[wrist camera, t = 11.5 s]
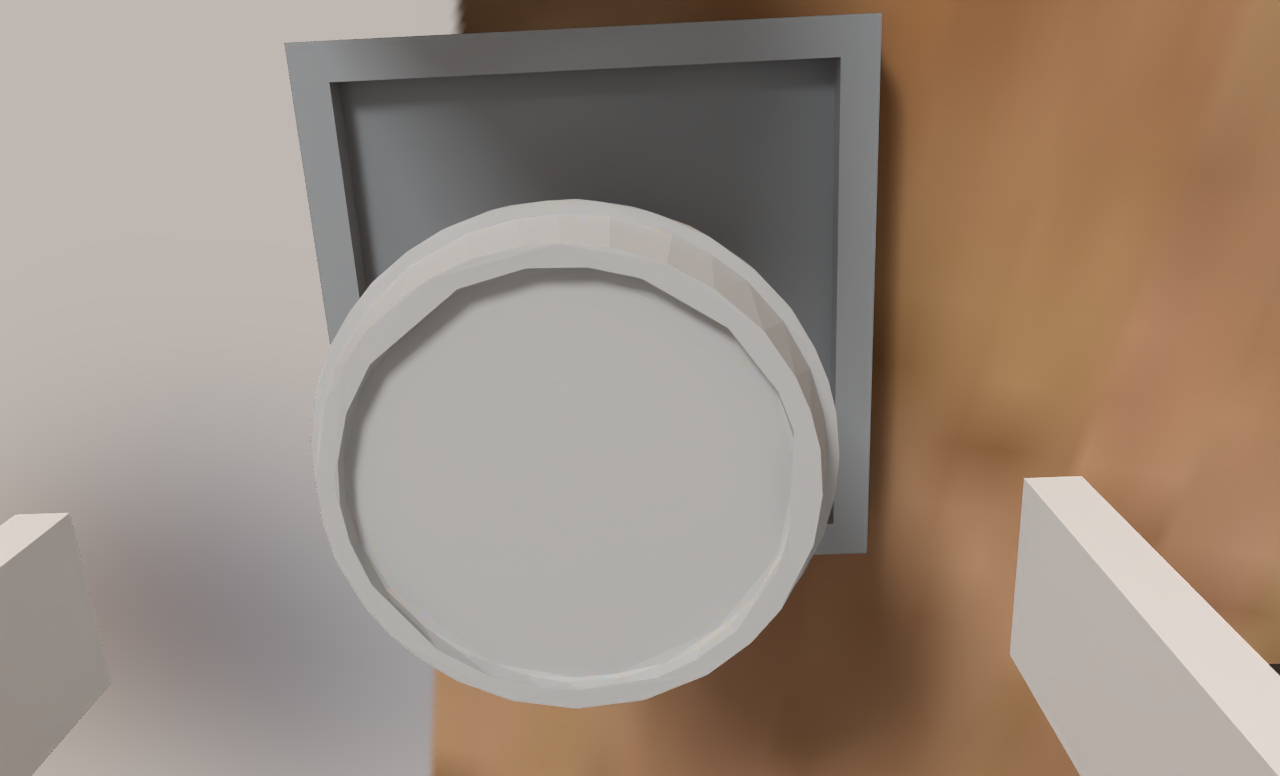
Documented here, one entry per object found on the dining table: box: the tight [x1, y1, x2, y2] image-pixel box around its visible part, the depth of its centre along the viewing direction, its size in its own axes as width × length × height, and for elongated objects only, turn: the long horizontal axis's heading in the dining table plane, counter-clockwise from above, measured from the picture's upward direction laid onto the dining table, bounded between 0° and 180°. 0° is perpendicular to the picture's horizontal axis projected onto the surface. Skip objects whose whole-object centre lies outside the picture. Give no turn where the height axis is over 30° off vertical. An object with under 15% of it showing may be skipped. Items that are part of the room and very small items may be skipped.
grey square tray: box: [284, 13, 882, 555], centre depth 29 cm, size 15×15×2 cm
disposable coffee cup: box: [310, 199, 840, 709], centre depth 23 cm, size 10×10×12 cm
